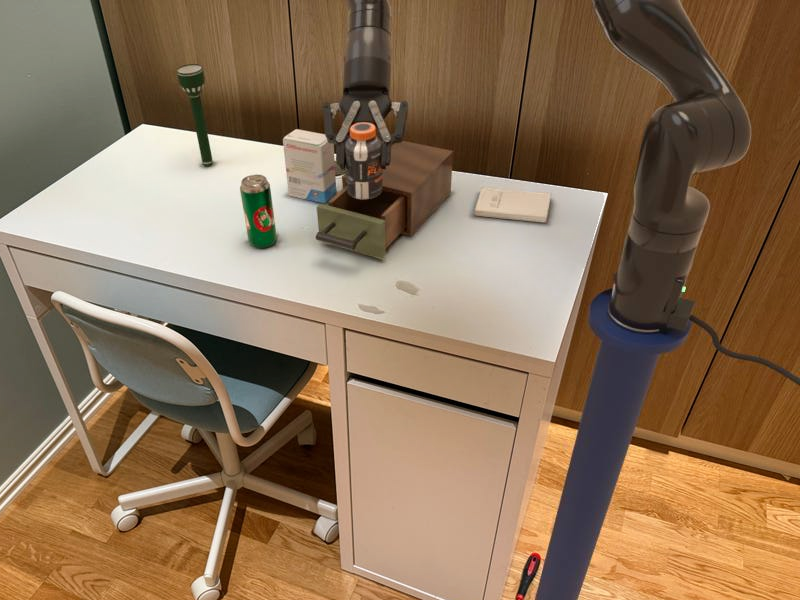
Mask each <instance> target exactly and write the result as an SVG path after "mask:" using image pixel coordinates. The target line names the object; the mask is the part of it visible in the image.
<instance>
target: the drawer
mask: <svg viewBox="0 0 800 600" xmlns="http://www.w3.org/2000/svg"><path fill="white" fill-rule="evenodd" d="M316 214H317V217H316V218H317V226H318V227H317V228H318V232H317V233H315V240H316V241H319V242H322V243H324V244H327V245H328V244H329V245H332V246H335V247H339V248H342V249H346V250H350V251H353V252H356V253H360V254H363V255H366V256H371V257H374V258H378V259H381V260H383V259H384V258H385V257H386V255H387V254H386V249H387V248H388V247H389V246H390V245H391V244H392V243H394V241H395V240H396V239H397V238H398V236H400V235H401V234H400V233H401V232H402V231H403V230H404V229H405V228H406V227H407V196H405V195H400V194H396V193H392V192H388V191H384V190H382V192H381V193H380V194H379V195H378V196H376V197H374V198H371V199H356V198H353V197H351V196H350V195H349V194H348V192H347V185H346V186H345V187H344V188H343V189H340V191H338V192H336V194H335V195H334V196H333V197H332V198H331V199H330V200H328V201H327V204H324V203H319V204H318V205H317V206H316Z"/></svg>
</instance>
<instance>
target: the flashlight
mask: <svg viewBox="0 0 800 600" xmlns="http://www.w3.org/2000/svg"><path fill="white" fill-rule="evenodd" d="M176 77H177V81H178V84H179V86H180V88H181V89H182V91H183V92H184V93H185V94H187V96H188V98H189V102H190V108H191V112H192V117H193V124H194V128H195V133H196V137H197V142H198V148H199V153H200V159H201V163H202V166H204V167H206V168H208V167H212V166H213V165H214V160H213V155H212V154H213V153H212V150H211V144H210V139H209V134H208V128H207V124H206V117H205V113H204V107H203V103H202V97H201V93H202V91H203V89H204V86H205V82H206V81H205V80H206V78H205V73H204V68H203V66H202V65H201V64H197V63H190V64H185V65H182V66H179V67H178V68H177V69H176Z"/></svg>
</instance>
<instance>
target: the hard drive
mask: <svg viewBox="0 0 800 600" xmlns="http://www.w3.org/2000/svg"><path fill="white" fill-rule="evenodd" d="M551 197H552V193H546V192H534V191H523V190H511V189H500V188H489V187H481V189H480V192H479V196H478V198H477V201H476V205H475V208H474V216H477V217H484V218H485V217H486V218H493V219H494V218H495V219H505V220H515V221H525V222H533V223H534V222H535V223H542V224H544V223H545V224H546V223H547V219H548V215H549V209H550V203H551Z"/></svg>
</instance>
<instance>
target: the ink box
mask: <svg viewBox="0 0 800 600" xmlns="http://www.w3.org/2000/svg"><path fill="white" fill-rule="evenodd" d="M282 145H283V154H284V165H285V173H286V183H287V184H286V185H287V193H288V196H290V197H294V198H298V199H302V200H305V201H306V200H307V201H311V202H316V203H319V204H324V205H326V204H327V203H328V201H330V200H331V199H332V198H333V197H334V196H335V195H336V194H337V179H336V157H335V144H333V143H328V141H327V138H326V136H325V133H319V132H314V131H308V130H304V129H299V128H298V129H297V128H295V129H294V130H293V131H291V132H289V133H288V134H287V135H285V136H284V137H283V138H282Z"/></svg>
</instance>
